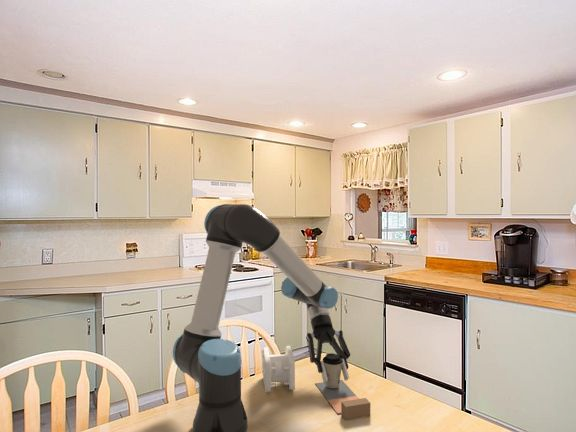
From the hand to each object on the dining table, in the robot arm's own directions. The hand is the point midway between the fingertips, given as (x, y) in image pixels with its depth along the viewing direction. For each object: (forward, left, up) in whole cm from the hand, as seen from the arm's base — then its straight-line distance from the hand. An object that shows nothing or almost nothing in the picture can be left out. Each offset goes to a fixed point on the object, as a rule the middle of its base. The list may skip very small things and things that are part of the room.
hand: (336, 380), depth 126 cm
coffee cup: (+2, +3, -3) cm, 5 cm away
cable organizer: (-10, +18, -4) cm, 21 cm away
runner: (-2, -4, -4) cm, 6 cm away
